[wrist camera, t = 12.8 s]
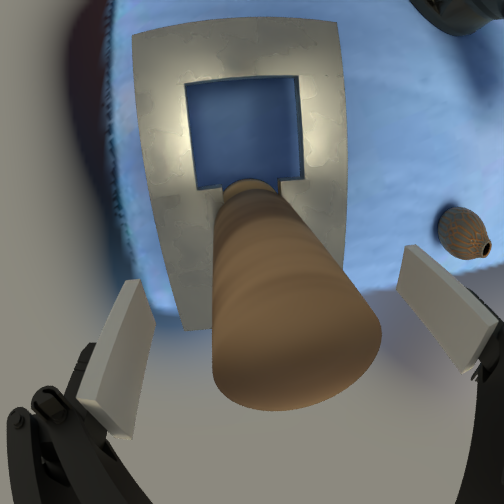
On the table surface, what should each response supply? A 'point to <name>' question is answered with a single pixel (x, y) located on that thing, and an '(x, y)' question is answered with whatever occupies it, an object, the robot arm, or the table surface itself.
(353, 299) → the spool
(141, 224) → the table surface
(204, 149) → the table surface
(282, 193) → the keyhole plate
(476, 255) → the vase
